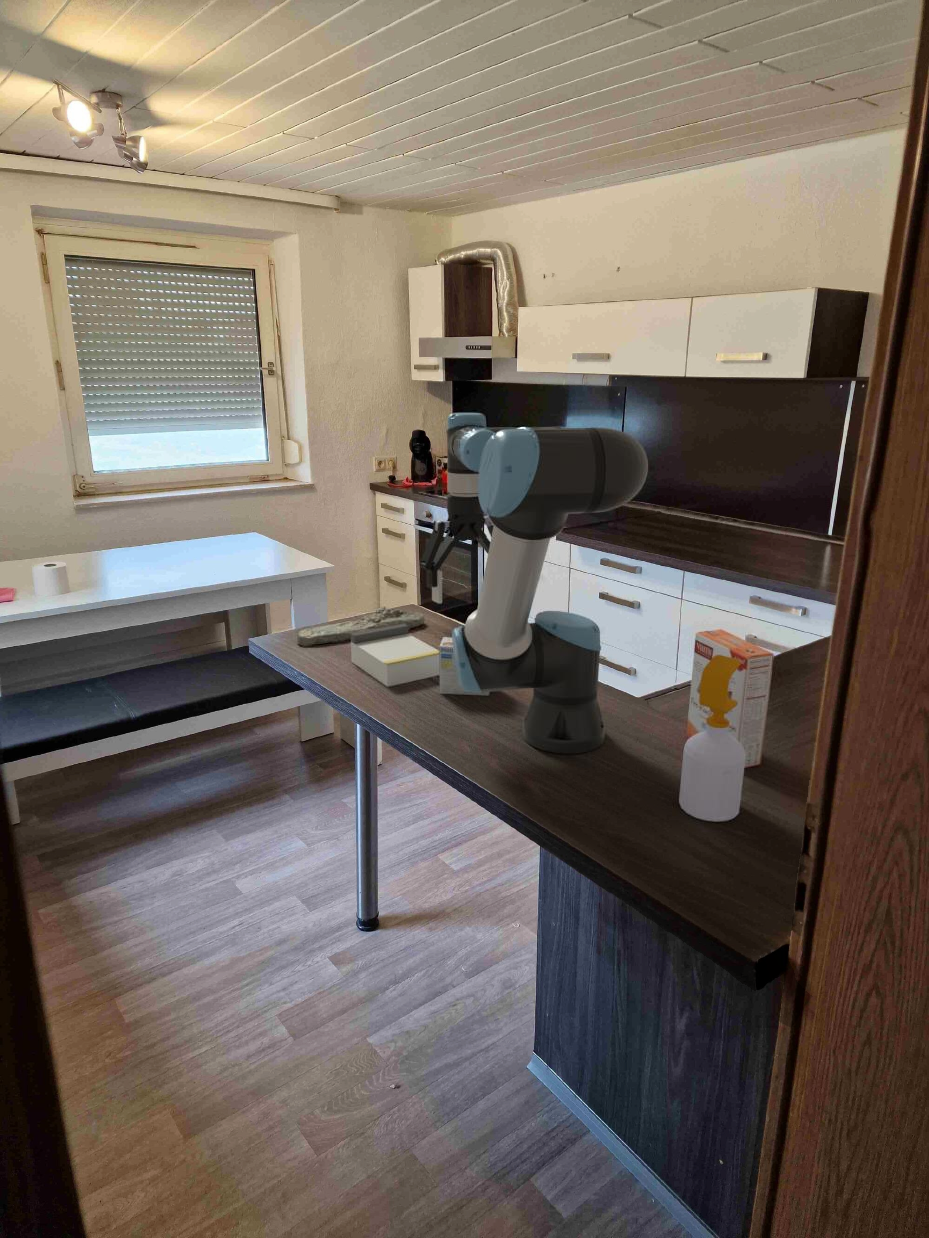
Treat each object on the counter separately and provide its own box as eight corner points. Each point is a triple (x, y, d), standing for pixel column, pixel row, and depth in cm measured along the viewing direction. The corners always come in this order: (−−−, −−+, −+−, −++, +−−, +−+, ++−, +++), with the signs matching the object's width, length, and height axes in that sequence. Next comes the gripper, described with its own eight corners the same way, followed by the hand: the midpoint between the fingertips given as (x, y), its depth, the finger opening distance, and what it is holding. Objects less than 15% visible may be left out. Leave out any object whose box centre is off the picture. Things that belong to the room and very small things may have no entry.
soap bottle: (748, 806, 126) (766, 659, 119) (723, 830, 120) (740, 675, 113) (695, 787, 132) (709, 645, 125) (668, 808, 126) (681, 660, 118)
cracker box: (683, 738, 150) (694, 631, 143) (710, 733, 152) (722, 627, 145) (732, 772, 137) (746, 656, 131) (761, 766, 139) (776, 652, 133)
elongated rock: (291, 644, 204) (305, 658, 196) (289, 624, 202) (303, 637, 194) (414, 616, 221) (431, 628, 213) (413, 598, 219) (431, 609, 211)
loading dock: (443, 674, 180) (443, 644, 178) (387, 686, 173) (386, 656, 171) (404, 651, 195) (404, 623, 193) (351, 661, 187) (350, 633, 185)
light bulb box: (491, 684, 175) (492, 637, 171) (489, 696, 168) (490, 647, 165) (442, 682, 176) (442, 635, 172) (438, 694, 169) (438, 645, 166)
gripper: (506, 486, 169) (504, 584, 175) (401, 496, 156) (403, 601, 162) (528, 491, 163) (525, 592, 169) (420, 501, 150) (421, 610, 156)
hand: (465, 597), depth 166 cm, fingers open, 13 cm apart
